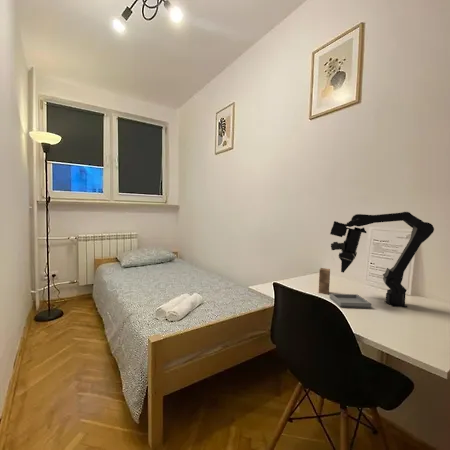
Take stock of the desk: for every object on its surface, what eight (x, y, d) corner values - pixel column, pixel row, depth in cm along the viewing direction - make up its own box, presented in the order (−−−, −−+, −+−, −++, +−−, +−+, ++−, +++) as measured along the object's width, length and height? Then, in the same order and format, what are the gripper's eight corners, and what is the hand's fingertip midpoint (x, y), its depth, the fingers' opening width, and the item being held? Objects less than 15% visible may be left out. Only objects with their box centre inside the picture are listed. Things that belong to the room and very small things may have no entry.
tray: (356, 298, 119) (357, 294, 119) (371, 308, 107) (371, 303, 107) (329, 298, 120) (329, 293, 120) (340, 307, 108) (340, 302, 108)
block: (329, 292, 129) (330, 269, 129) (328, 294, 125) (329, 270, 125) (319, 290, 131) (320, 267, 131) (318, 292, 127) (319, 269, 127)
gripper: (337, 234, 132) (329, 262, 134) (331, 236, 116) (322, 268, 118) (360, 240, 126) (352, 269, 128) (358, 242, 110) (348, 276, 112)
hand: (343, 270), depth 122 cm, fingers open, 9 cm apart
